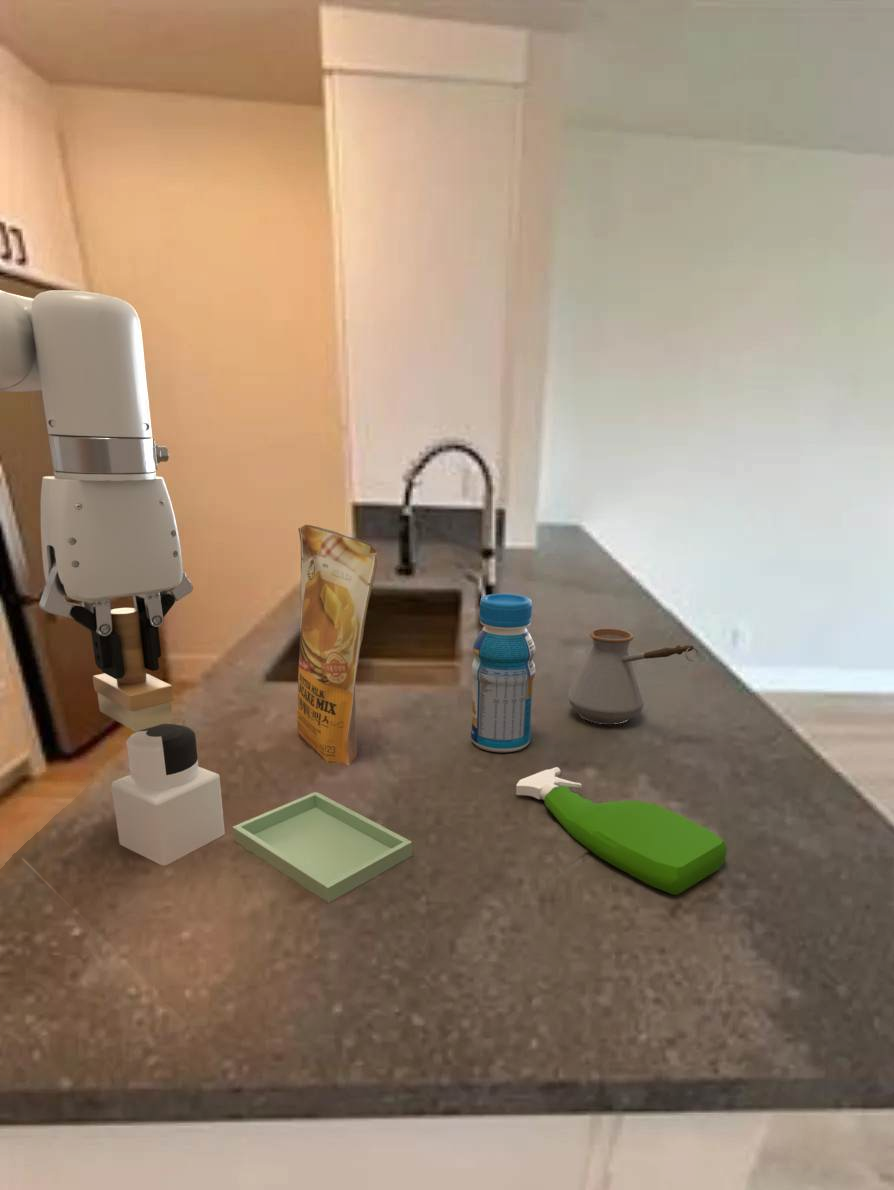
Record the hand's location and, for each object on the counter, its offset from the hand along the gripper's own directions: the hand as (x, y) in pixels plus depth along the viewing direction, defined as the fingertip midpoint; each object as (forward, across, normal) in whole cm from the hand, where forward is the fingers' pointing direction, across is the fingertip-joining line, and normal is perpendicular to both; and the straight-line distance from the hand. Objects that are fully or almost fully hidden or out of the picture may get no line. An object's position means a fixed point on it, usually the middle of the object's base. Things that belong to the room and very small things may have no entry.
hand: (130, 669), depth 65 cm
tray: (+19, -11, +12) cm, 25 cm away
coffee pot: (+19, -61, +18) cm, 66 cm away
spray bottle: (+19, -34, +31) cm, 50 cm away
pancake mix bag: (+19, -28, -8) cm, 35 cm away
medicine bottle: (+19, -2, 0) cm, 19 cm away
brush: (+5, 0, 0) cm, 5 cm away
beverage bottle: (+19, -44, +8) cm, 49 cm away
